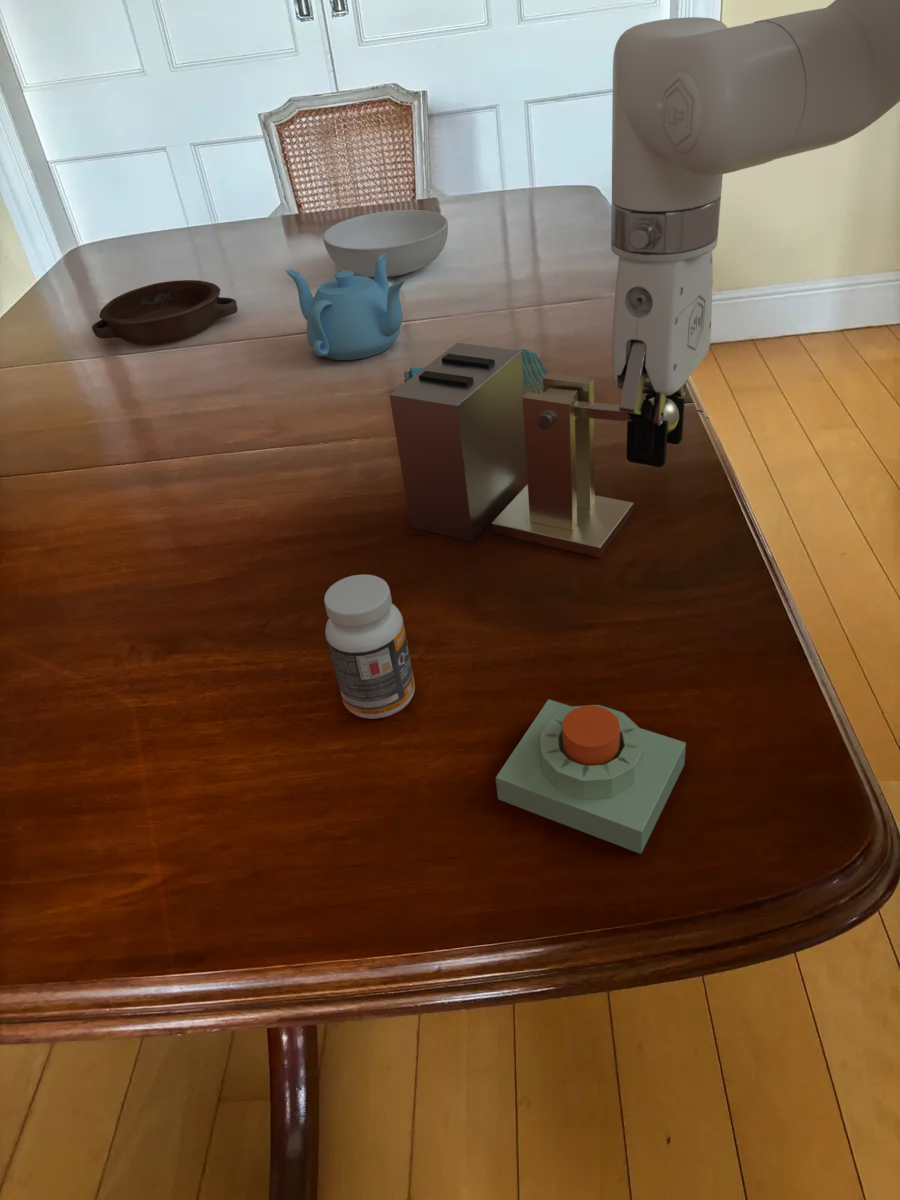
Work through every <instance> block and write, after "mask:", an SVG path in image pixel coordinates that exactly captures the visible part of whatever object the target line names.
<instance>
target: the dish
mask: <svg viewBox="0 0 900 1200" xmlns="http://www.w3.org/2000/svg"><path fill="white" fill-rule="evenodd" d="M220 294H221V288H220V287H219V286H218V285H217V284H215V283H213V282H210V281H204V280H197V279H180V280H168V281H162V282H156V283H151V284H149V285H144V286H141V287H138V288H135V289H132V290H129V291H127V292H124V293H122V294H120V295H118V296H116V297H115V298H112V299H111V300H110V301H109V302H108V303H106V304H105V305H104V306H103V307H102V309H101V310H100V312H99V315H98V316H99V318H100V320H98V321H97V322H94V324H92V326H91V329H92V332H93V334H94V336H95V337H96V338H98V339H102V340H104V339H105V340H107V339H119V340H120V339H121V340H124V341H126V342H129V343H132V344H138V345H139V344H141V345H142V344H143V345H152V344H154V345H155V344H163V343H169V342H173V341H177V340H180V339H185V338H187V337H191V336H193V335H196V334H198V333H201V332H202V331H204V330H206V329H208V328H209V327H210V326H212V325H213V324H214V323H215V322H216V320H218V319H220V318H225V317H229V316H233V315H235V314H236V313H237V312H238V306H237V300H236V299H235V298H231V297H222V296H221V297H220Z"/></svg>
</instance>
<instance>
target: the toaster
mask: <svg viewBox="0 0 900 1200" xmlns="http://www.w3.org/2000/svg"><path fill="white" fill-rule="evenodd" d="M521 350H522V349H512V348H505V347H497V346H488V345H487V346H486V345H481V344H480V345H479V344H471V343H463V342H456V343H454V344H453V345H452V346H451V347H449V348H448V349H446V350H445V352H443V353H442V354H440V355H439V356H437V358H435V359H434V360H432V361H431V362H430V363H429V364H427V365H425V366H424V367H422V368H423V369H422V370H421V371H420V372H418V373H417V374H416V375H414V376H413V377H412V378H410V379H409V380H408V381H406V382H405V381H404V383H402V384H401V385H400V386H399V387H397V388H396V389H395V390H393V391H392V392H390V394H389V399H390V406H391V413H392V420H393V426H394V431H395V433H394V434H395V439H396V445H397V450H398V451H397V452H398V457H399V463H400V470H401V476H402V481H403V483H402V484H403V489H404V495H405V502H406V508H407V513H408V514H407V515H408V520H409V527H410V528H412V529H416V530H419V531H425V532H429V533H432V534H437V535H442V536H444V537H450V538H453V539H458V540H463V541H466V542H470V543H473V542H474V541H475V540H476V539H477V538H478V537H479V536H480V535H481V534H482V533H483V531H485V529H486V528H487V527H488V526H489V525H490V524H492V522H493V521H494V520H495V519H496V518H497V517H498V515H499V514H500V513H501V512H502V511H503V510H504V509H505V508H506V507H507V506H508V505H509V504H510V502H511V501H512V500H513V499H514V498H515V497H516V496H517V495H518V494H519V493H520V492H521V491H522V489H523V488H524V487H525V486H526V485H527V484H528V481H527V465H526V448H525V432H524V415H523V399H522V397H523V396H524V384H523V367H522V351H521Z"/></svg>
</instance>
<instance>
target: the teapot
mask: <svg viewBox="0 0 900 1200" xmlns="http://www.w3.org/2000/svg"><path fill="white" fill-rule="evenodd" d="M388 255H389V254H388V253H384V254H382V255H381V256H380V257H379V258H378V260H377V263H376V267H375V274H374V277H373V278H372V277H366V276H359V275H355V274H354V272H353V271H345V270H341V271H338V272H336V273H334V275H333V276H334V278H332V279H330V280H328V281H325V282H323V283H322V284H320V286H318V287H317V290H316V291H315V294H314V295H313V293H312V292H311V289H310V287H309V284H308V282H307V280H306V279H305V277H304V276H303V275H302V274H301V273H299V272H298V271H296V270H293V269H286V270H285V273H287V275H289V277H290V278H291V279H292V280H293V282H294V284H295V286H296V289H297V293H298V301H299V308H300V311H301V313H302V317H303V318H304V319H305V321H306V337H307V342H308V344H309V345H310V347H311V348H312V351H313V353H314V355H316V356H318V357H324V358H326V359H329V360H335V361H354V360H361V359H366V358H370V357H373V356H376V355H378V354H381V353H383V352H385V351H386V350H389V348H390V347H391V346H392V345H393V344H394V343H395V341H396V339H397V338H398V336H399V334H400V332H401V328H402V327H401V326H402V323H403V318H404V317H403V316H404V315H403V308H402V303H401V300H400V291H401V288H402V286H403V285H404V283H405V282H406V281H405V280H402V281H399V282H395V283H392V284H391V285H390V283H389V280H388V279H389V278H387V274H386V262H387V259H388Z"/></svg>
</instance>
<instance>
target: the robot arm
mask: <svg viewBox="0 0 900 1200" xmlns="http://www.w3.org/2000/svg"><path fill="white" fill-rule="evenodd" d="M612 57H613V58H612V100H611V101H612V102H611V103H612V104H611V105H612V108H611V109H612V110H611V112H612V114H611V115H612V116H611V117H612V118H611V120H612V121H611V122H612V123H611V204H610V205H611V209H610V210H611V211H610V212H611V215H610V217H611V220H610V224H611V225H610V240H611V241H610V249H611V252H612V253H613V254H614V255H616V256H618V263H617V272H616V280H615V292H614V302H613V317H612V335H611V337H612V338H611V339H612V340H611V370H612V371H611V372H612V381H613V384H614V386H615V387H616V388H617V389H620V390H621V389H622V390H621V396H620V401H619V404H618V405H619V410H620V412H625V413H626V420H627V422H626V460H627V461H628V462H630V463H634V464H640V465H645V466H650V467H656V468H662V467H663V466H664V465H665V464H666V462H667V448H668V446H667V445H668V444H672V445H679V444H680V443H681V442H682V440H683V435H684V419H685V405H686V403H685V402H686V399H685V398H684V397H685V395H686V392H687V381H688V380H689V378H690V377H691V376H692V374H693V373H694V372H695V371H696V370H697V368H698V367H699V366H700V365H701V363H702V362H703V360H704V359H705V358H706V356H707V354H708V352H709V349H710V345H711V336H712V335H711V334H712V315H713V314H712V313H713V311H712V310H713V282H714V281H713V271H714V269H713V267H714V266H713V261H714V260H713V251H714V250H715V248H716V247H717V246H718V237H719V229H720V226H719V225H720V214H721V213H720V212H721V204H722V203H721V202H722V201H721V200H722V188H723V175H725V174H730V173H734V172H737V171H742V170H746V169H749V168H754V167H757V166H760V165H764V164H767V163H770V162H772V161H775V160H779V159H782V158H786V157H791V156H795V155H797V154H803V153H806V152H810V151H815V150H819V149H823V148H826V147H829V146H833V145H836V144H838V143H840V142H843V141H845V140H848V139H850V138H852V137H853V136H855V135H857V134H858V133H861V132H862V131H863V130H865V129H867V128H868V127H870V126H871V125H872V124H873V123H875V122H876V121H877V120H879V119H881V117H883V116H884V115H885V114H887V113H888V112H889V111H890V110H891V109H893V108H894V107H895V106H896V105H897V104H898V103H899V102H900V0H834V1H833V2H832V3H830V4H829V5H828V6H825V7H824V8H817V9H812V10H805V11H800V12H796V13H795V12H794V13H791V14H786V15H785V14H784V15H780V16H776V17H770V18H766V19H761V20H755V21H754V22H751V23H746V24H741V25H736V26H732V27H728V26H727V25H726V24H724V22H723V21H720V20H718V19H715V18H712V17H699V16H697V17H696V16H695V17H694V16H691V17H690V16H689V17H674V18H665V19H658V20H653V21H648V22H644V23H640V24H636V25H633V26H631V27H630V28H628V29H626V30H625V31H624V32H623V33H622V34H621V35H620V36H619V37H618V39H617V41H616V44H615V46H614V51H613V55H612ZM646 379H649V381H648V380H646ZM643 394H646V395H645V398H643ZM651 398H654V405H653V404H652V402H651V401H650V400H649V399H651ZM665 398H669V399H670V400H672V401H673V402H674V403H675V404H676V406H677V408H678V411H679V420H678V423H677V425H676V427H675V428H674V429H673V430H672V431H671V432H670V433H669V434H667V429H668V421H665V420H663V419H664V409H665Z"/></svg>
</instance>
